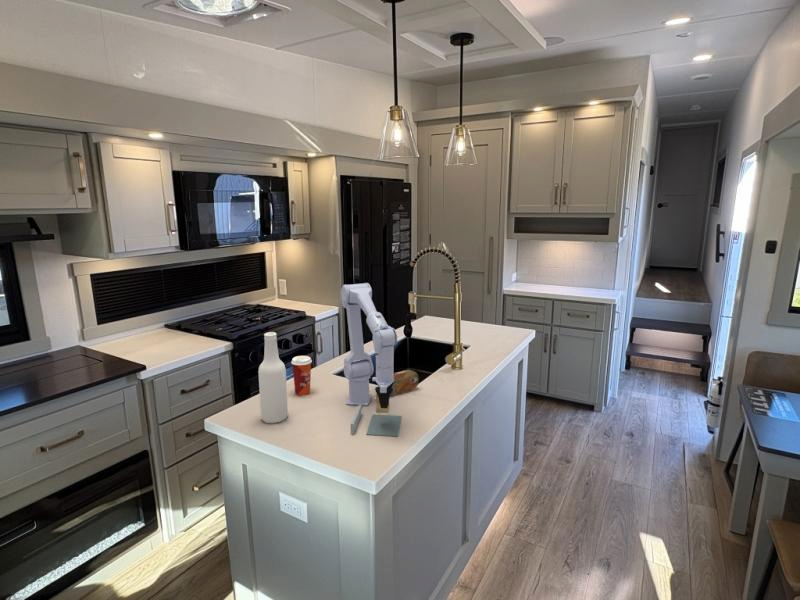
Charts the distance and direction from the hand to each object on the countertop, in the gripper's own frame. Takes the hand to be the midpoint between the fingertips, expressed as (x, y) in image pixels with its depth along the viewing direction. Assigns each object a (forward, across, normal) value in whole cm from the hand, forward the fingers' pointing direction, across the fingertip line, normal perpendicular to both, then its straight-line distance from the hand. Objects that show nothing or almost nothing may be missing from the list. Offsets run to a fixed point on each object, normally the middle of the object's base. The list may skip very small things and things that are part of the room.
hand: (384, 404), depth 148 cm
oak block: (+2, 0, -1) cm, 2 cm away
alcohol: (+8, -4, -38) cm, 39 cm away
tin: (+8, -28, +5) cm, 29 cm away
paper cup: (+8, -25, -34) cm, 43 cm away
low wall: (+7, -1, -10) cm, 12 cm away
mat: (+7, 0, 0) cm, 7 cm away
